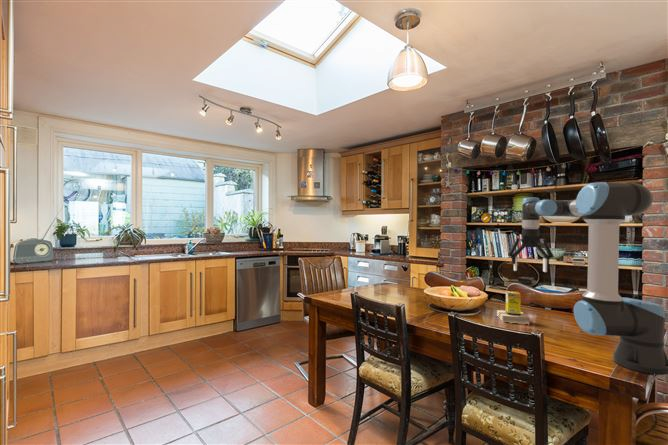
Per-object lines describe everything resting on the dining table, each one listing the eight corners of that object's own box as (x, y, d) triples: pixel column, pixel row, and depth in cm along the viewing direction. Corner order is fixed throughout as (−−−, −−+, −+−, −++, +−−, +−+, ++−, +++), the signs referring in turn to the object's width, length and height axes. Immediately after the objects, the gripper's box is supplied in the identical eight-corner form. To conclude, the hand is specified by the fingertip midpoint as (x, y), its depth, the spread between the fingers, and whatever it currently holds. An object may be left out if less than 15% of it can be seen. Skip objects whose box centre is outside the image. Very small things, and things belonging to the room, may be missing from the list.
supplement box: (520, 315, 171) (521, 293, 171) (507, 314, 173) (507, 292, 173) (518, 312, 177) (518, 291, 177) (505, 311, 178) (505, 290, 178)
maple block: (529, 325, 168) (529, 317, 168) (502, 323, 170) (503, 315, 170) (521, 319, 180) (521, 311, 180) (496, 317, 182) (496, 309, 182)
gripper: (554, 229, 172) (554, 271, 172) (501, 228, 176) (500, 269, 176) (561, 229, 165) (561, 273, 164) (506, 228, 169) (505, 270, 169)
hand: (530, 271), depth 170 cm, fingers open, 13 cm apart
